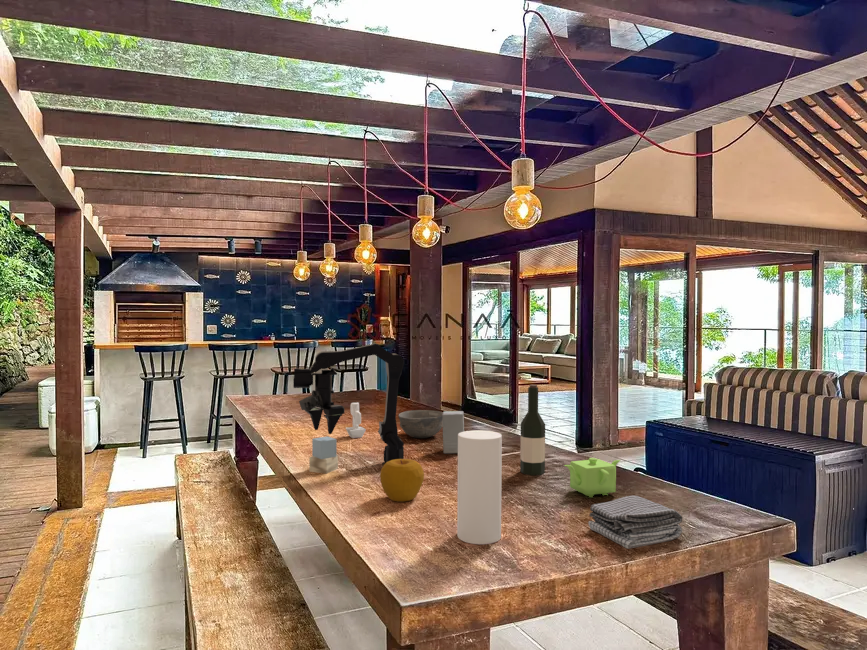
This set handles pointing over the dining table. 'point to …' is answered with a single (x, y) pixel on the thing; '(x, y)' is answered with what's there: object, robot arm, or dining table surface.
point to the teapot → (593, 476)
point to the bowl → (421, 423)
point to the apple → (401, 479)
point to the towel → (635, 521)
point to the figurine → (355, 422)
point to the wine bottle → (532, 437)
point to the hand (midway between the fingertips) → (323, 431)
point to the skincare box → (452, 430)
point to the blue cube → (324, 447)
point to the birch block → (323, 464)
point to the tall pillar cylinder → (479, 486)
